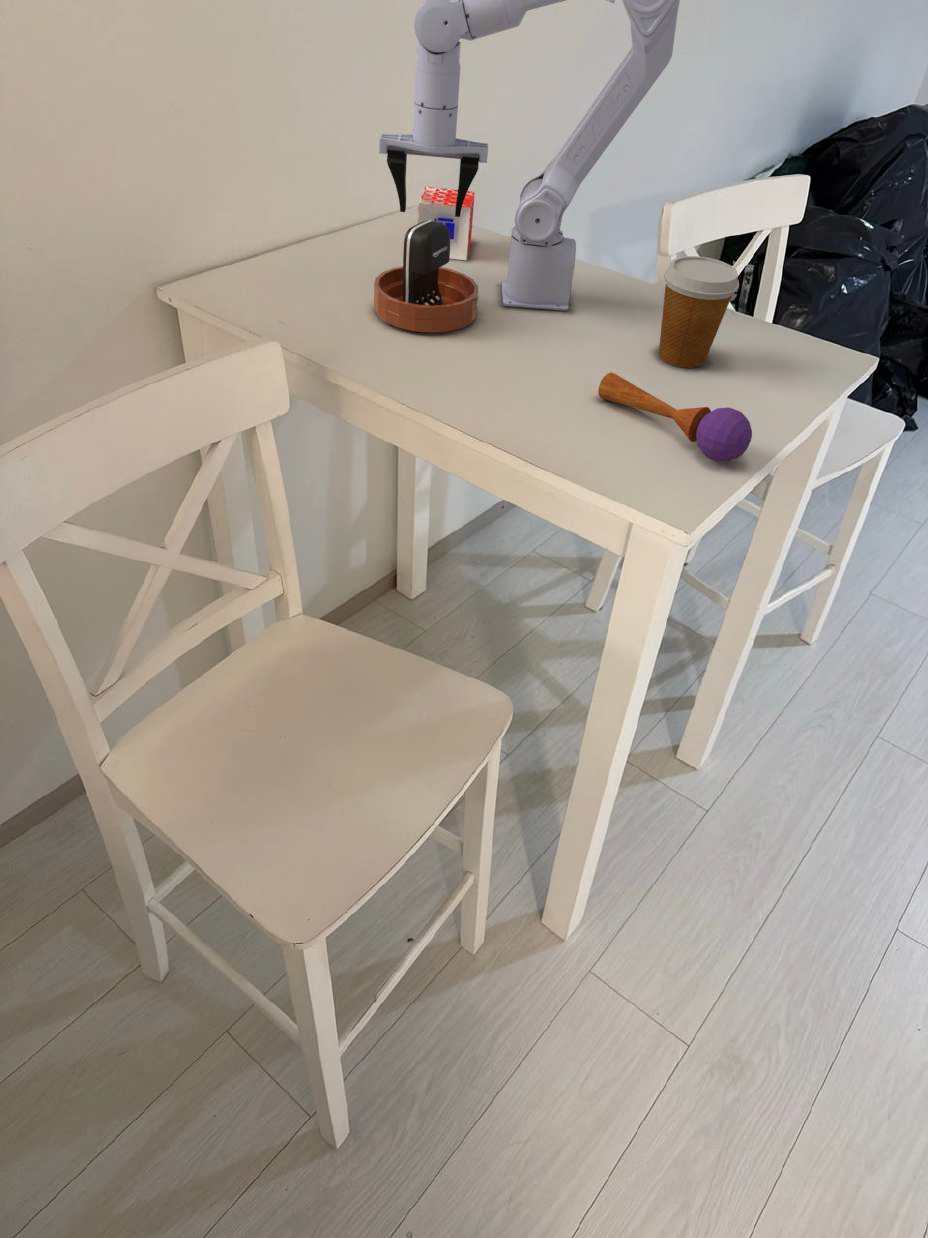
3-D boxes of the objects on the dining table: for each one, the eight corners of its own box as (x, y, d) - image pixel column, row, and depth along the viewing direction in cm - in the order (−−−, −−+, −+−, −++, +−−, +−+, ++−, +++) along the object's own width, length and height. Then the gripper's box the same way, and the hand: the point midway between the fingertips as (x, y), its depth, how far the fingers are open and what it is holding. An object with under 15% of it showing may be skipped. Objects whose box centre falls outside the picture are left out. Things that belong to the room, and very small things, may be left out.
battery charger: (423, 321, 124) (427, 236, 116) (400, 314, 125) (402, 228, 117) (450, 305, 128) (455, 222, 121) (427, 298, 130) (431, 215, 122)
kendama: (627, 359, 112) (768, 415, 101) (616, 406, 115) (751, 465, 104) (597, 363, 108) (741, 421, 97) (586, 411, 111) (724, 473, 100)
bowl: (475, 296, 133) (478, 269, 130) (475, 339, 122) (478, 310, 119) (378, 289, 132) (378, 261, 129) (370, 331, 121) (370, 302, 119)
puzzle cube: (470, 242, 148) (474, 191, 143) (466, 260, 143) (470, 207, 137) (422, 237, 149) (424, 186, 143) (416, 254, 143) (418, 202, 137)
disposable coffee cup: (673, 335, 127) (694, 249, 119) (730, 361, 123) (756, 272, 115) (632, 353, 122) (651, 264, 114) (690, 381, 118) (714, 290, 109)
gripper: (491, 101, 122) (481, 206, 131) (382, 91, 121) (380, 197, 130) (491, 114, 116) (481, 223, 125) (378, 104, 116) (376, 214, 125)
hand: (430, 211), depth 127 cm, fingers open, 7 cm apart
